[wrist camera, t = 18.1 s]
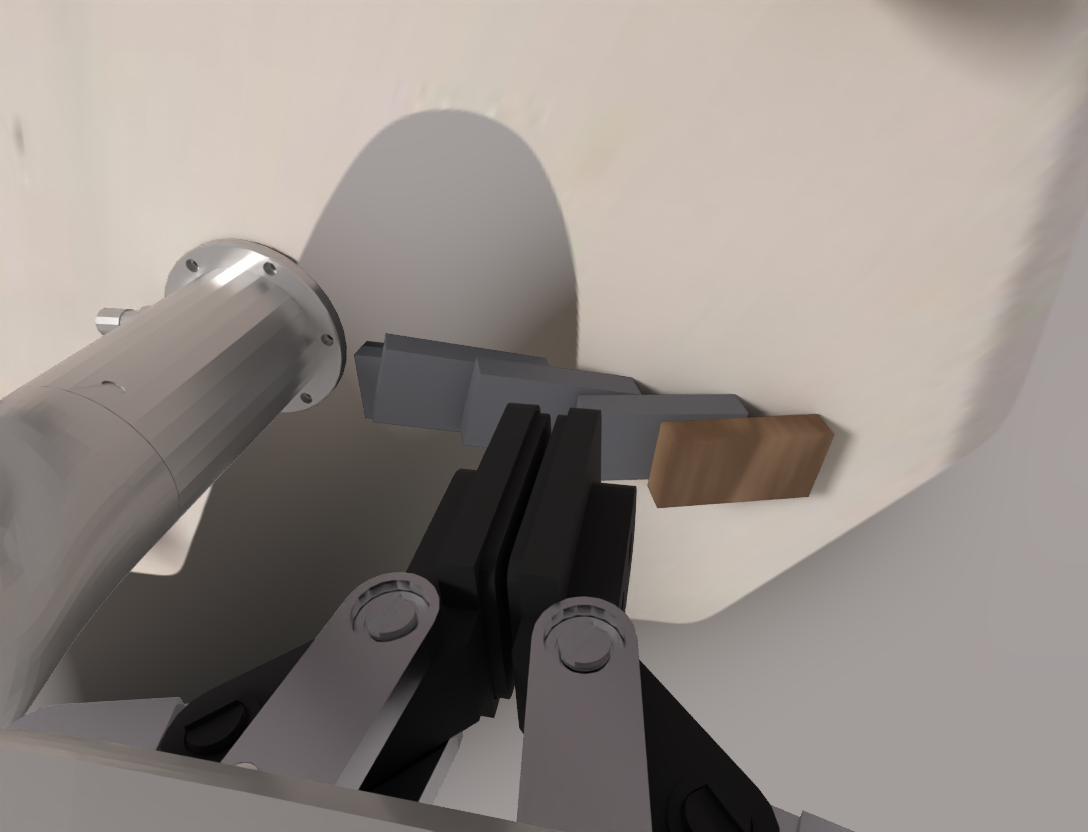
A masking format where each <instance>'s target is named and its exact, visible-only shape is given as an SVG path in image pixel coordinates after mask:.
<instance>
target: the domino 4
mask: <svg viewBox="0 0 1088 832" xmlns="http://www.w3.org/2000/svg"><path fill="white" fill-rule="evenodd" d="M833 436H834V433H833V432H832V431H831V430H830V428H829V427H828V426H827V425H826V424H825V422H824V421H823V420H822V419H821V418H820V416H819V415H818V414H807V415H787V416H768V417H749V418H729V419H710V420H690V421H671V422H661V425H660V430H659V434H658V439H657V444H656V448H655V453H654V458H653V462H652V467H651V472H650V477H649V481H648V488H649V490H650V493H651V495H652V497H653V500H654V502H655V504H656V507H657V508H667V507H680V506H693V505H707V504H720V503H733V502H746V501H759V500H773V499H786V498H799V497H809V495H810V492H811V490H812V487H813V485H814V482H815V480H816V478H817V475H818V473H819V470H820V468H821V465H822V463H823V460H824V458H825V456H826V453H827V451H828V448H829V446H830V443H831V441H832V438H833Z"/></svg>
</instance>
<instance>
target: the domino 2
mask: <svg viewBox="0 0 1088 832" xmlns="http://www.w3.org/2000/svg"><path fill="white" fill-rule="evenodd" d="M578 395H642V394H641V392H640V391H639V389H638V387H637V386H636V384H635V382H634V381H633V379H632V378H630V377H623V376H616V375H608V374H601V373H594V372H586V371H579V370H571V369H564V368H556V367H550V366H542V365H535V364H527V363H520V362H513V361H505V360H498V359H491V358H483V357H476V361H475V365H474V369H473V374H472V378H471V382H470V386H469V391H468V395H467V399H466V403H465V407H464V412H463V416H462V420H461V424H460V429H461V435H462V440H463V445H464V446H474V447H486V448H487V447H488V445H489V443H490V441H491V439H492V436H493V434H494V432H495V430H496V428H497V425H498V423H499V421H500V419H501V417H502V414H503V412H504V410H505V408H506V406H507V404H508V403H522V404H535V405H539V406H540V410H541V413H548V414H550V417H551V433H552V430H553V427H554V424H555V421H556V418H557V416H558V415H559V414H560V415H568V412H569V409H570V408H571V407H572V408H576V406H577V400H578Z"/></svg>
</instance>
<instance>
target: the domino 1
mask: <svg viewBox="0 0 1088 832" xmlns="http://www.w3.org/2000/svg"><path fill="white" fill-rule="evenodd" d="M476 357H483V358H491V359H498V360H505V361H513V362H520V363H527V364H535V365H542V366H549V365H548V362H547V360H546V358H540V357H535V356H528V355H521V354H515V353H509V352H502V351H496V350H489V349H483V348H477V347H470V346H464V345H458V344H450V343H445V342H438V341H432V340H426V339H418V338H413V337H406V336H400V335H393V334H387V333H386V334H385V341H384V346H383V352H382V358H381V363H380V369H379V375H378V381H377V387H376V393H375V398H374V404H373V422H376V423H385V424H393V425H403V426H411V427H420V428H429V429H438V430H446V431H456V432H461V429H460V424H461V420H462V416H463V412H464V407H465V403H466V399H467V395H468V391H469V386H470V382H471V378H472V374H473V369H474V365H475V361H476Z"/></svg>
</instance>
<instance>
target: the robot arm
mask: <svg viewBox="0 0 1088 832" xmlns="http://www.w3.org/2000/svg"><path fill="white" fill-rule="evenodd" d="M96 326H97V329H98V331H99V332H100V333H101V334H102V335H104V336H102V337H101V338H99V339H97V340H96V341H94V342H93V343H91V344H89V345H88V346H86V347H84V348H83V349H81V350H80V351H78V352H76V353H75V354H73V355H72V356H70V357H68V358H67V359H65V360H64V361H62V362H60V363H59V364H57V365H55V366H54V367H52V368H51V369H49V370H47V371H46V372H44V373H43V374H41V375H39V376H38V377H36V378H34V379H33V380H31V381H30V382H28V383H26V384H25V385H23V386H22V387H20V388H18V389H17V390H15V391H14V392H12V393H10V394H9V395H7V396H6V397H4V398H2V399H1V400H0V832H854V831H851V830H849V829H847V828H844V827H842V826H839V825H837V824H834V823H832V822H830V821H827V820H825V819H822V818H820V817H817V816H815V815H813V814H810V813H808V812H805V811H802V814H801V816H800V817H798V816H796V815H793V814H791V813H789V812H786V811H784V810H782V809H779V808H777V807H774V806H772V805H770V804H769V802H768V801H767V799H766V798H765V797H764V795H763V794H762V793H761V791H760V790H759V788H758V787H757V786H756V785H755V784H754V783H753V782H752V781H751V780H750V779H749V778H748V776H747V775H746V774H745V773H744V772H743V771H742V770H741V769H740V768H739V767H738V766H737V765H736V764H735V763H734V761H732V759H731V758H730V757H729V756H728V755H727V754H726V753H725V752H724V751H723V749H721V747H720V746H719V745H718V744H717V743H716V742H715V741H714V740H713V739H712V738H711V737H710V735H709V734H708V733H707V732H706V731H705V730H704V729H703V728H702V727H701V726H700V725H699V724H698V722H697V721H696V720H695V719H694V718H693V717H692V716H691V715H690V714H689V713H688V712H687V711H686V710H685V708H684V707H683V706H682V705H681V704H680V703H679V702H678V701H677V700H676V699H675V698H674V697H673V695H671V693H670V692H669V691H668V690H667V689H666V688H665V687H664V686H663V685H662V684H661V683H660V682H659V680H658V679H657V678H656V677H655V676H654V675H653V674H652V673H651V672H650V671H649V670H648V668H647V667H646V666H645V665H644V664H643V663H642V662H641V661H640V660H639V653H638V640H637V635H636V632H635V628H634V625H633V623H632V622H631V621H630V619H629V617H628V616H627V615H626V613H625V608H626V601H627V593H628V585H629V577H630V570H631V561H632V552H633V542H634V530H635V514H636V493H637V489H636V486H628V485H618V484H608V483H601V436H602V414H601V410H597V409H585V408H572V407H571V408H570V409H569V412H568V415H560V414H559V415H558V416H557V418H556V421H555V424H554V427H553V430H552V433H551V417H550V414H548V413H541V410H540V406H539V405H535V404H522V403H508V404H507V406H506V408H505V410H504V412H503V414H502V417H501V419H500V421H499V423H498V425H497V428H496V430H495V432H494V434H493V436H492V439H491V441H490V443H489V445H488V447H487V450H486V452H485V454H484V456H483V458H482V460H481V463H480V465H479V467H478V469H477V470H468V469H459V470H458V471H457V472H456V473H455V475H454V476H453V478H452V480H451V483H450V484H449V487H448V489H447V491H446V493H445V495H444V496H443V499H442V501H441V503H440V505H439V507H438V509H437V511H436V513H435V515H434V517H433V519H432V521H431V523H430V525H429V527H428V529H427V531H426V533H425V535H424V537H423V539H422V541H421V543H420V545H419V547H418V549H417V551H416V553H415V555H414V557H413V559H412V561H411V563H410V565H409V567H408V569H407V571H406V573H404V572H397V573H388V574H383V575H381V576H378V577H375V578H372V579H370V580H368V581H367V582H365V583H363V584H362V585H360V586H358V587H357V588H356V589H355V590H354V591H353V592H352V593H351V594H350V595H349V596H348V597H347V598H346V600H345V601H344V602H343V604H342V605H341V606H340V608H339V609H338V610H337V611H336V613H335V614H334V615H333V617H332V618H331V619H330V621H329V622H328V623H327V624H326V626H325V627H324V628H323V630H322V631H321V632H320V634H319V635H318V636H317V637H316V639H314V640H312V641H310V642H308V643H306V644H303V645H302V646H300V647H297V648H295V649H294V650H291V651H289V652H287V653H285V654H283V655H281V656H279V657H277V658H275V659H273V660H271V661H269V662H267V663H265V664H262V665H260V666H258V667H256V668H254V669H252V670H250V671H248V672H246V673H244V674H242V675H240V676H238V677H236V678H234V679H232V680H230V681H228V682H225V683H223V684H221V685H219V686H217V687H215V688H213V689H211V690H209V691H207V692H206V693H204V694H202V695H201V696H199V697H198V698H196V699H194V700H193V701H191V702H190V703H189V704H183V702H182V700H181V699H180V697H174V698H158V699H141V700H124V701H109V702H92V703H75V704H59V705H53V706H49V707H44V708H39V709H37V710H35V711H33V712H31V713H29V714H27V715H25V713H26V712H27V711H28V709H29V708H30V706H31V705H32V703H33V702H34V700H35V699H36V697H37V696H38V694H39V693H40V691H41V690H42V688H43V687H44V685H45V684H46V682H47V681H48V679H49V677H50V676H51V674H52V673H53V671H54V670H55V668H56V667H57V665H58V664H59V662H60V661H61V659H62V658H63V656H64V655H65V653H66V652H67V650H68V649H69V648H70V646H71V645H72V643H73V642H74V640H75V639H76V637H77V636H78V635H79V633H80V632H81V631H82V629H83V628H84V627H85V625H86V624H87V623H88V621H89V620H90V619H91V618H92V616H93V615H94V613H95V612H96V611H97V610H98V608H99V607H100V606H101V605H102V604H103V602H104V601H105V600H106V599H107V597H108V596H109V595H110V594H111V593H112V591H113V590H114V589H115V588H116V587H117V586H118V584H119V583H120V582H121V581H122V580H123V579H124V578H125V577H126V575H127V574H128V573H129V572H130V571H131V570H132V569H133V568H134V567H135V566H136V564H137V563H138V562H139V561H140V560H141V559H142V558H143V557H144V556H145V555H146V553H147V552H148V551H149V550H150V549H151V548H152V547H153V546H154V545H155V544H156V543H157V542H158V541H159V540H160V539H161V537H162V536H163V535H164V534H165V533H166V532H167V531H168V530H169V529H170V528H171V527H172V526H173V525H174V524H175V523H176V522H177V521H178V520H179V519H180V517H181V516H182V515H183V514H184V513H185V512H186V511H187V510H188V509H189V508H190V507H191V506H192V505H193V504H194V503H195V502H196V501H197V500H198V498H199V497H200V496H201V495H202V494H203V493H204V492H205V491H206V490H207V489H208V488H209V487H210V486H211V485H212V484H213V483H214V482H215V481H216V479H217V478H218V477H219V476H220V475H221V474H222V473H223V472H224V471H225V470H226V469H227V468H228V467H229V466H230V465H231V464H232V463H233V462H234V461H235V460H236V458H237V457H238V456H239V455H240V454H241V453H242V452H243V451H244V450H245V449H246V448H247V447H248V446H249V445H250V444H251V443H252V442H253V441H254V440H255V438H256V437H257V436H258V435H259V434H260V433H261V432H262V431H263V430H264V429H265V428H266V427H267V426H268V425H269V424H270V423H271V422H272V421H273V419H274V418H275V417H276V416H277V415H278V414H279V413H292V412H298V411H303V410H307V409H309V408H311V407H313V406H316V405H318V404H319V403H320V402H321V401H323V400H324V399H325V398H326V397H328V395H329V394H330V393H331V392H332V391H333V389H334V388H335V387H336V386H337V384H338V382H339V381H340V379H341V377H342V375H343V372H344V368H345V364H346V348H347V347H346V341H345V335H344V330H343V327H342V325H341V322H340V319H339V317H338V314H337V312H336V311H335V309H334V307H333V305H332V303H331V302H330V300H329V298H328V297H327V295H326V294H325V293H324V291H323V290H322V289H321V288H320V287H319V285H318V284H317V283H316V282H315V280H313V279H312V278H311V277H310V276H309V275H308V274H307V273H306V272H305V271H304V270H303V269H302V268H301V267H299V266H298V265H297V264H295V263H294V262H292V261H291V260H290V259H288V258H287V257H285V256H284V255H282V254H280V253H278V252H276V251H274V250H272V249H270V248H268V247H266V246H263V245H260V244H257V243H253V242H250V241H245V240H237V239H221V240H213V241H210V242H207V243H204V244H201V245H199V246H198V247H196V248H194V249H192V250H190V251H189V252H187V253H186V254H184V255H183V256H182V257H181V258H180V259H179V260H178V261H177V262H176V263H175V265H174V266H173V268H172V270H171V271H170V273H169V275H168V279H167V282H166V286H165V298H164V299H162V300H160V301H159V302H157V303H155V304H154V305H152V306H145V307H142V308H141V309H140V310H139V311H134V310H133V309H116V308H103V309H102V310H100V311H99V312H98V314H97V316H96ZM514 686H515V690H516V699H517V710H518V720H519V728H520V730H521V731H522V733H523V734H524V737H523V750H522V762H521V774H520V775H521V776H520V787H519V799H518V812H517V822H514V821H509V820H504V819H499V818H494V817H489V816H484V815H480V814H474V813H470V812H465V811H460V810H455V809H450V808H445V807H440V806H435V805H432V804H433V802H434V800H435V798H436V796H437V794H438V791H439V789H440V787H441V785H442V783H443V781H444V779H445V777H446V775H447V773H448V771H449V768H450V767H451V764H452V762H453V760H454V758H455V756H456V754H457V752H458V750H459V747H460V744H461V740H462V737H463V730H465V729H467V728H468V727H470V726H472V725H473V724H475V723H476V722H478V721H479V719H480V716H486V717H491V718H494V716H495V713H496V710H497V706H498V703H499V699H500V698H504V699H510V698H511V696H512V693H513V689H514ZM24 715H25V716H24Z"/></svg>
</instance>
